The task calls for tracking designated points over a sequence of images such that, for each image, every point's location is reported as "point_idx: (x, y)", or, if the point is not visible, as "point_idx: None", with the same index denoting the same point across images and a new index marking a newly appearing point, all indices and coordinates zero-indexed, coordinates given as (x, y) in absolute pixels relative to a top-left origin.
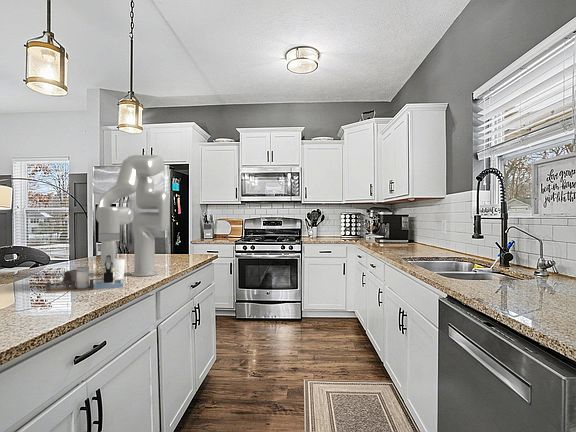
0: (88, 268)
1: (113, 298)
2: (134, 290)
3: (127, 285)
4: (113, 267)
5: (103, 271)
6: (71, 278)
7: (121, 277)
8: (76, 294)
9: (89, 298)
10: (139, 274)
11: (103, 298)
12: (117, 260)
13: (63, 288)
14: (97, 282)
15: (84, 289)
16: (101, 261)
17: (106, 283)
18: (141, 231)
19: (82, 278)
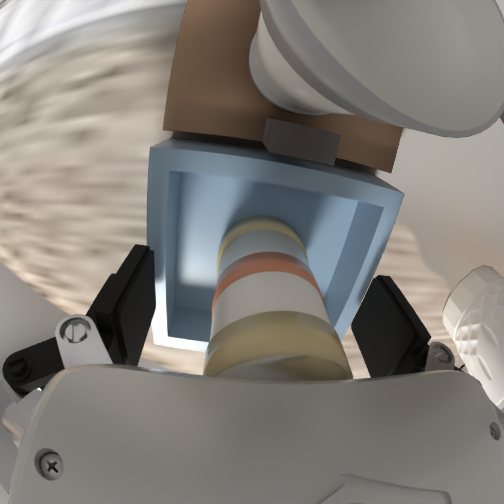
0: (350, 97)
1: (14, 242)
2: (164, 349)
3: None
4: (496, 350)
5: (253, 324)
6: None
7: (451, 336)
8: None
9: (37, 127)
10: (465, 371)
11: (19, 200)
12: (500, 400)
13: None
14: (379, 203)
15: (210, 71)
16: (21, 445)
17: (224, 260)
18: None
19: (257, 28)
